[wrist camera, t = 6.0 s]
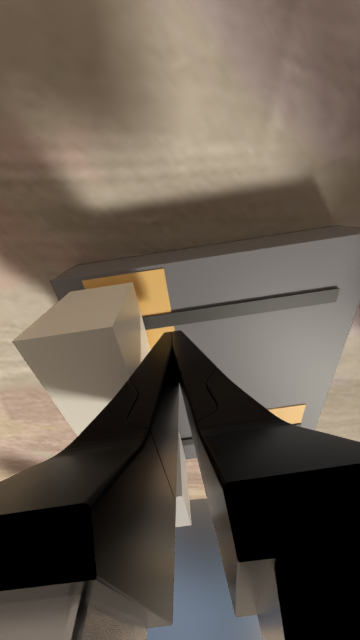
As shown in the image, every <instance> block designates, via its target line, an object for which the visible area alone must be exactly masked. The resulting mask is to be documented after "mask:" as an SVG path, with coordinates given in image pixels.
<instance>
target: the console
mask: <svg viewBox="0 0 360 640" xmlns="http://www.w3.org/2000/svg"><path fill="white" fill-rule="evenodd" d="M50 282H51V284H52V286H53V288H54V291H55V293H56V295H57V297H58V299H59V301H60V300H61V299H62V298H63V297H64V296H66V295H67V294H68V293H69V292H71V291H78V290H85V289H91V288H98V287H104V286H111V285H118V284H124V283H131V282H133V285H134V289H135V292H136V296H137V300H138V304H139V307H140V311H141V315H142V319H143V323H144V326H145V330H146V334H147V338H148V341H149V345H150V349H152V348H153V346H154V345H155V344H156V342H157V341H158V340H159V339H160V337H161V336H162V335H163V333H165V332H171V331H172V332H173V331H178V330H181V331H182V332H183V333H184V334H185V335H186V336H187V337H188V338H189V339H190V340H191V341H192V342H193V343H194V344H195V345H196V346H197V347H198V348H199V349H200V350H201V351H202V352H203V353H204V354H205V355H206V356H207V357H208V358H209V359H210V360H211V361H212V362H213V363H214V364H215V365H216V366H217V368H219V369H220V370H221V371H222V372H223V373H224V374H225V375H226V376H227V377H228V378H229V379H230V380H231V381H232V382H233V383H235V384H236V385H237V386H238V387H240V388H241V389H242V390H243V391H245V392H246V393H247V394H248V395H250V396H251V397H252V398H253V399H255V400H256V401H257V402H259V403H260V404H261V405H262V406H264V407H265V408H266V409H268V410H269V411H270V412H271V413H273V414H274V415H276V416H277V417H279V418H280V419H282V420H284V421H286V422H288V423H290V424H293V425H296V426H300V427H303V428H307V429H311V430H315V428H316V425H317V422H318V419H319V417H320V414H321V411H322V408H323V405H324V402H325V399H326V397H327V394H328V391H329V388H330V385H331V382H332V379H333V377H334V374H335V371H336V368H337V365H338V362H339V359H340V356H341V354H342V351H343V348H344V345H345V342H346V339H347V336H348V334H349V331H350V328H351V325H352V322H353V319H354V316H355V314H356V311H357V308H358V305H359V302H360V228H356V227H346V226H330V227H324V228H317V229H311V230H304V231H298V232H291V233H285V234H278V235H272V236H265V237H259V238H252V239H246V240H239V241H232V242H226V243H219V244H213V245H206V246H200V247H193V248H187V249H180V250H174V251H167V252H161V253H154V254H148V255H141V256H135V257H128V258H122V259H115V260H108V261H102V262H95V263H89V264H82V265H76V266H74V267H72V268H71V269H69V270H67V271H66V272H64V273H63V274H61V275H59V276H58V277H56V278H54V279H53V280H51V281H50ZM178 430H179V433H180V437H181V441H182V446H183V450H184V454H185V458H186V459H193V458H197V454H196V450H195V446H194V442H193V438H192V433H191V429H190V425H189V421H188V417H187V413H186V408H185V404H184V400H183V396H182V392H181V388H180V383H179V414H178Z"/></svg>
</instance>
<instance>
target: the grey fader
mask: <svg viewBox="0 0 360 640" xmlns="http://www.w3.org/2000/svg"><path fill="white" fill-rule="evenodd" d="M189 502H190V501H189V488H188V475H187V463H186V458H185V454H184V450H183V446H182V441H181V437H180V433H179V430H178V450H177V485H176V522H175V527H180V526H188V525H191V514H190V503H189Z"/></svg>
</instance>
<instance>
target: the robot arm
mask: <svg viewBox="0 0 360 640" xmlns="http://www.w3.org/2000/svg"><path fill="white" fill-rule="evenodd" d="M179 383H180V388H181V392H182V396H183V400H184V404H185V408H186V413H187V417H188V421H189V425H190V429H191V433H192V438H193V442H194V446H195V450H196V454H197V458H198V463H199V467H200V471H201V475H202V479H203V483H204V488H205V492H206V496H207V500H208V504H209V508H210V513H211V517H212V521H213V525H214V529H215V533H216V537H217V542H218V546H219V550H220V554H221V558H222V562H223V566H224V571H225V575H226V579H227V583H228V588H229V592H230V596H231V600H232V604H233V608H234V613H235V616H236V617H242V616H250V615H257V616H258V621H259V625H260V630H261V634H262V639H263V640H360V442H358V441H354V440H350V439H346V438H342V437H338V436H334V435H331V434H327V433H323V432H319V431H315V430H311V429H307V428H303V427H300V426H296V425H293V424H290V423H288V422H286V421H284V420H282V419H280V418H279V417H277V416H276V415H274V414H273V413H271V412H270V411H269V410H268V409H266V408H265V407H264V406H262V405H261V404H260V403H259V402H257V401H256V400H255V399H253V398H252V397H251V396H250V395H248V394H247V393H246V392H245V391H243V390H242V389H241V388H240V387H238V386H237V385H236V384H235V383H233V382H232V381H231V380H230V379H229V378H228V377H227V376H226V375H225V374H224V373H223V372H222V371H221V370H220V369H219V368H217V366H216V365H215V364H214V363H213V362H212V361H211V360H210V359H209V358H208V357H207V356H206V355H205V354H204V353H203V352H202V351H201V350H200V349H199V348H198V347H197V346H196V345H195V344H194V343H193V342H192V341H191V340H190V339H189V338H188V337H187V336H186V335H185V334H184V333H183V332H182V331H181V330H178V331H173V332H172V331H171V332H165V333H163V335H162V336H161V337H160V339H159V340H158V341H157V342H156V344H155V345H154V346H153V348H152V349H151V350H150V352H149V353H148V354H147V356H146V357H145V358H144V359H143V361H142V362H141V363H140V365H139V366H138V367H137V369H136V370H135V371H134V372H133V374H132V375H131V376H130V378H129V379H128V380H127V381H126V383H125V384H124V385H123V387H122V388H121V389H120V390H119V392H118V393H117V394H116V395H115V397H114V398H113V399H112V400H111V401H110V402H109V403H108V404H107V406H106V407H105V408H104V409H103V410H102V411H101V412H100V413H99V414H98V415H97V416H96V417H95V418H94V420H93V421H92V422H91V423H90V424H89V425H88V426H87V427H86V428H85V429H84V430H83V431H82V432H81V433H80V434H79V436H78V437H77V438H76V439H75V440H74V441H73V442H72V443H71V444H70V445H69V446H67V447H66V448H65V449H64V450H63V451H61V452H60V453H58V454H57V455H55V456H54V457H52V458H50V459H48V460H46V461H44V462H42V463H40V464H38V465H35V466H33V467H31V468H29V469H27V470H25V471H22V472H20V473H18V474H16V475H14V476H12V477H9V478H7V479H5V480H3V481H1V482H0V640H147V628H153V627H161V626H169V625H172V622H173V591H174V557H175V556H174V555H175V522H176V485H177V450H178V414H179Z"/></svg>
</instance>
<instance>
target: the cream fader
mask: <svg viewBox="0 0 360 640" xmlns="http://www.w3.org/2000/svg"><path fill="white" fill-rule="evenodd" d="M12 342H13V344H14V345H15V346H16V348H17V349H18V351H19V352H20V354H21V355H22V357H23V358H24V360H25V361H26V362H27V364H28V365H29V367H30V368H31V370H32V371H33V373H34V374H35V375H36V377H37V378H38V380H39V381H40V383H41V384H42V386H43V387H44V388H45V390H46V391H47V393H48V394H49V396H50V397H51V399H52V400H53V402H54V403H55V404H56V406H57V407H58V409H59V410H60V412H61V413H62V415H63V416H64V417H65V419H66V420H67V422H68V423H69V425H70V426H71V428H72V429H73V430H74V432H75V433H76V435H77V436H79V434H80V433H81V432H82V431H83V430H84V429H85V428H86V427H87V426H88V425H89V424H90V423H91V422H92V421H93V420H94V418H95V417H96V416H97V415H98V414H99V413H100V412H101V411H102V410H103V409H104V408H105V407H106V406H107V404H108V403H109V402H110V401H111V400H112V399H113V398H114V397H115V395H116V394H117V393H118V392H119V390H120V389H121V388H122V387H123V385H124V384H125V383H126V381H127V380H128V379H129V378H130V376H131V375H132V374H133V372H134V371H135V370H136V369H137V367H138V366H139V365H140V363H141V362H142V361H143V359H144V358H145V357H146V356H147V354H148V353H149V352H150V350H151V349H150V345H149V341H148V338H147V334H146V330H145V326H144V323H143V319H142V315H141V311H140V307H139V304H138V300H137V296H136V292H135V289H134V285H133V282H131V283H124V284H118V285H111V286H104V287H98V288H91V289H85V290H78V291H71V292H69V293H68V294H67V295H66V296H64V297H63V298H62V299H61V300H60V301H59V302H57V303H56V304H55V305H54V306H53V307H52V308H50V309H49V310H48V311H47V312H46V313H45V314H43V315H42V316H41V317H40V318H39V319H38V320H36V321H35V322H34V323H33V324H32V325H31V326H29V327H28V328H27V329H26V330H25V331H24V332H22V333H21V334H20V335H19V336H18V337H17V338H15V339H14V340H13V341H12Z"/></svg>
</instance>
